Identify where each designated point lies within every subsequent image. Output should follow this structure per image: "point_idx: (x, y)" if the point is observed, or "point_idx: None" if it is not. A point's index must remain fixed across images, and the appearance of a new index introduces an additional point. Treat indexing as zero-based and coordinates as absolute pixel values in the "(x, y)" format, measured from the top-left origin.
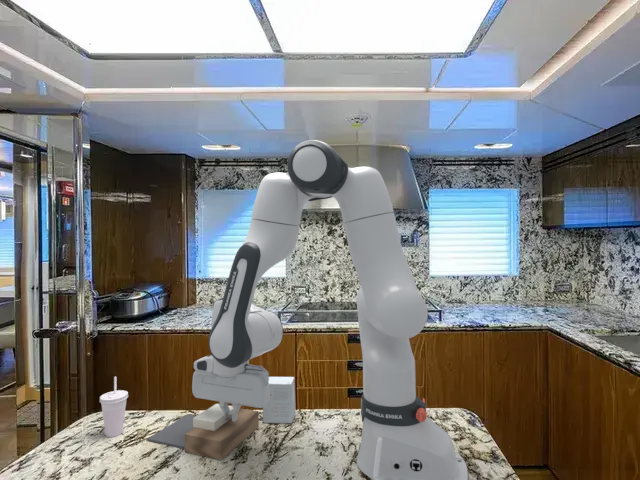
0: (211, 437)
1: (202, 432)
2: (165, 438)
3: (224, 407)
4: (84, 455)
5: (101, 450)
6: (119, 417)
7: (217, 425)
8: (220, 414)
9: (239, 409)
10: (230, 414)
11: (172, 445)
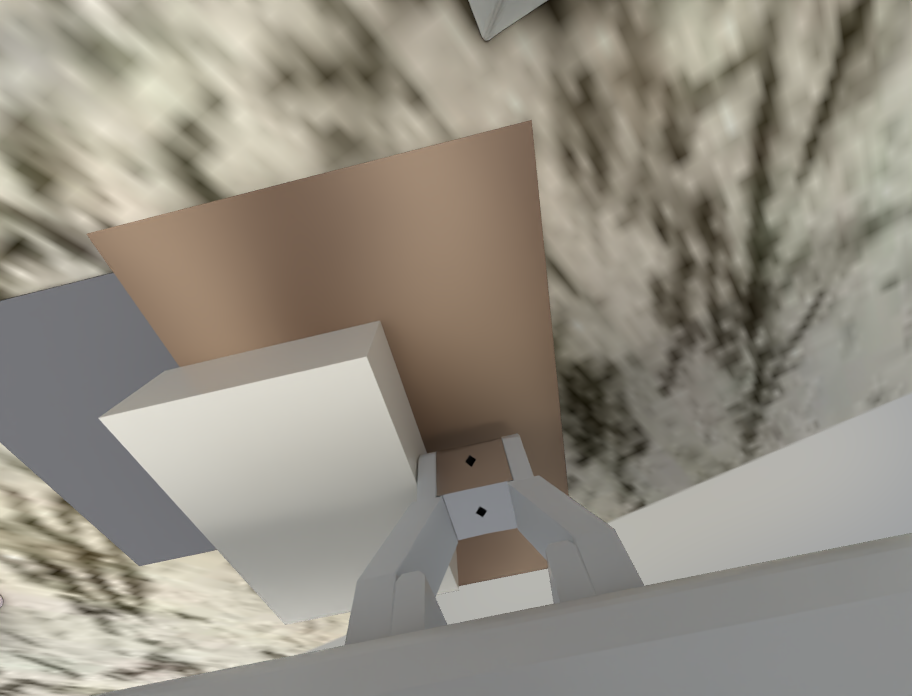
0: (498, 566)
1: None
2: (195, 533)
3: (430, 584)
4: (118, 663)
5: (114, 638)
6: None
7: None
8: (391, 522)
9: (561, 492)
10: (507, 527)
11: None
